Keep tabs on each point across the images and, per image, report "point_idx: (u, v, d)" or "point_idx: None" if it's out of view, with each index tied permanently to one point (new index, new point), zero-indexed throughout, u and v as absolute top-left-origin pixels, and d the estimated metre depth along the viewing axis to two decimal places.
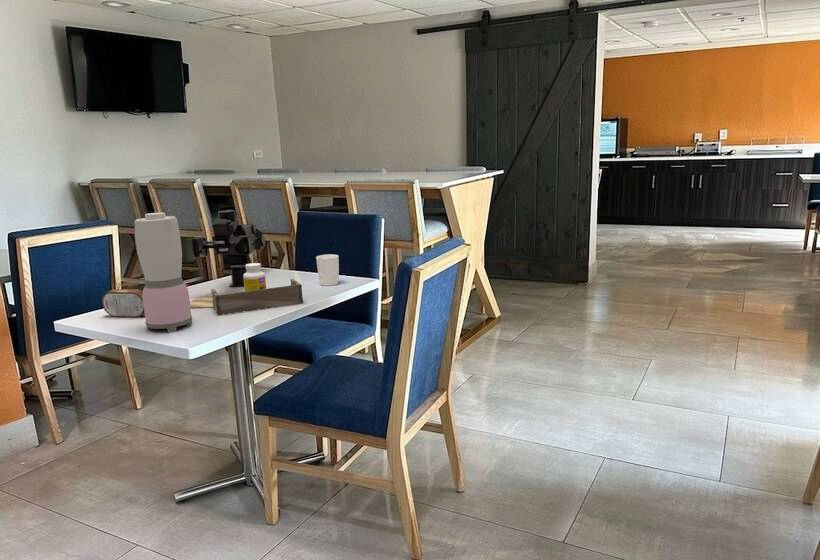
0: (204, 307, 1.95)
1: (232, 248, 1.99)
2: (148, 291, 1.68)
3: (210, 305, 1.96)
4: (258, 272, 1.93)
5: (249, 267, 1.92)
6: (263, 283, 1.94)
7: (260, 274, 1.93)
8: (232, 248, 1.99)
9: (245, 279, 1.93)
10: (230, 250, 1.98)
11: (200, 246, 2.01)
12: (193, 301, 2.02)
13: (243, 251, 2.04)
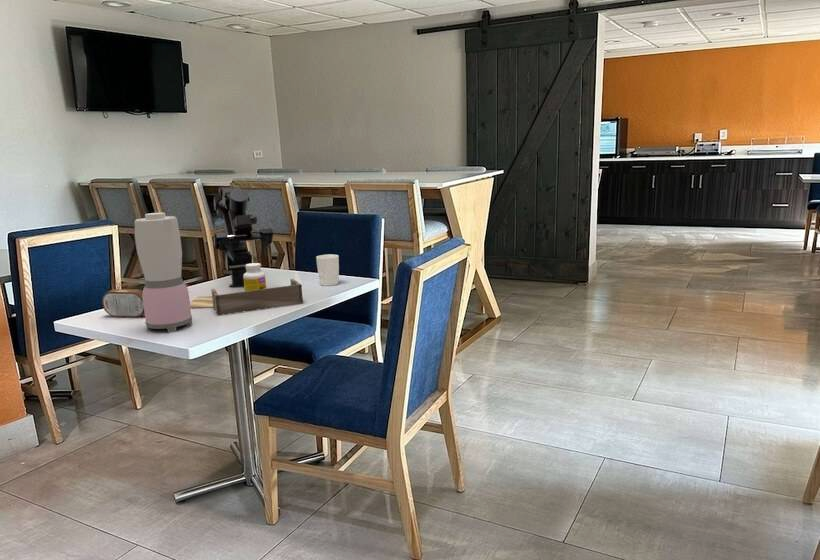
0: (204, 307, 1.95)
1: None
2: (148, 291, 1.68)
3: (210, 305, 1.96)
4: (258, 272, 1.93)
5: (249, 267, 1.92)
6: (263, 283, 1.94)
7: (260, 274, 1.93)
8: None
9: (245, 279, 1.93)
10: (263, 254, 2.03)
11: (229, 249, 1.99)
12: (193, 301, 2.02)
13: (267, 243, 2.08)
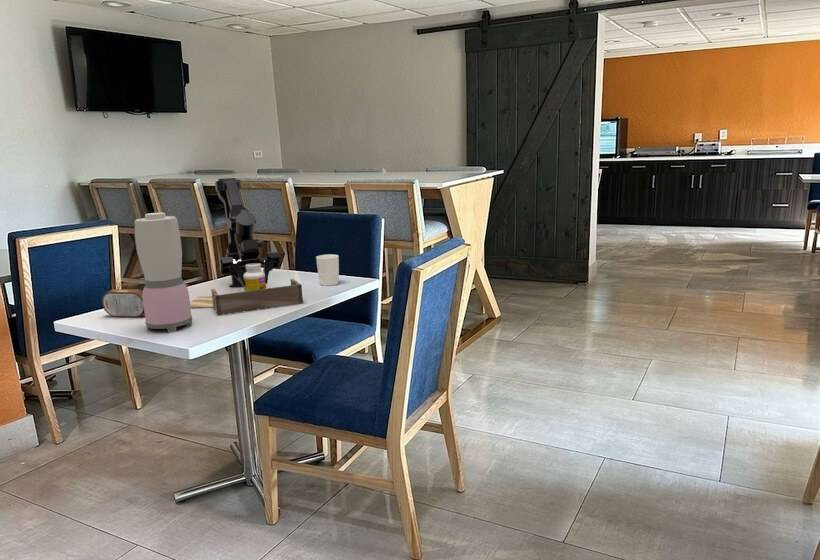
0: (204, 307, 1.95)
1: None
2: (148, 291, 1.68)
3: (210, 305, 1.96)
4: (258, 272, 1.93)
5: (249, 267, 1.92)
6: (263, 283, 1.94)
7: (260, 274, 1.93)
8: None
9: (245, 279, 1.93)
10: (267, 280, 1.96)
11: (240, 274, 1.93)
12: (193, 301, 2.02)
13: (271, 268, 2.01)
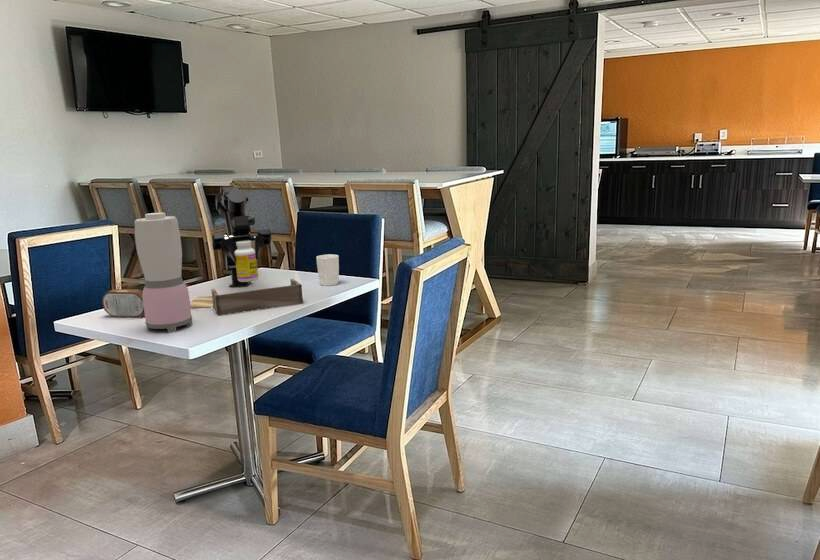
0: (204, 307, 1.95)
1: (258, 252, 2.03)
2: (148, 291, 1.68)
3: (210, 305, 1.96)
4: (248, 249, 2.00)
5: (239, 244, 1.99)
6: (253, 259, 2.00)
7: (250, 251, 1.99)
8: None
9: (236, 256, 1.99)
10: (257, 256, 2.02)
11: (231, 250, 2.00)
12: (193, 301, 2.02)
13: (262, 245, 2.07)
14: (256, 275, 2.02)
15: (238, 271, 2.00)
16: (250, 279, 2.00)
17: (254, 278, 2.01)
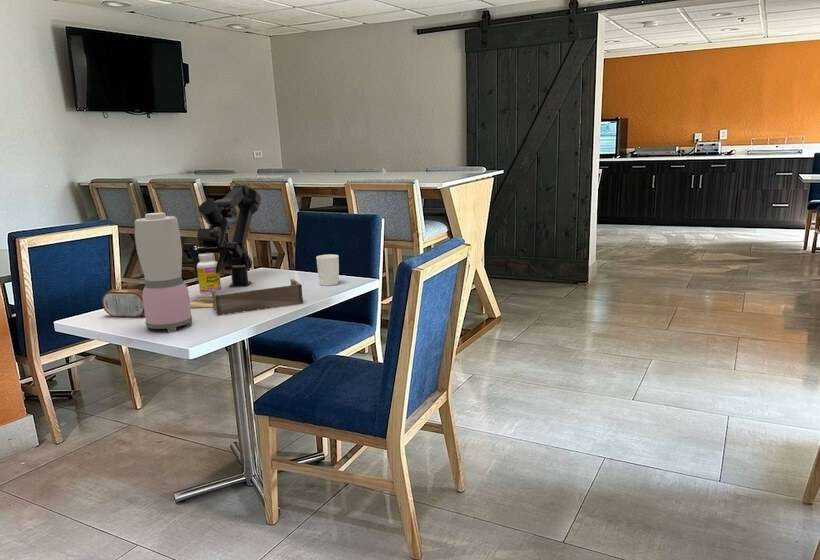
0: (204, 307, 1.95)
1: (220, 266, 1.98)
2: (148, 291, 1.68)
3: (210, 305, 1.96)
4: (207, 262, 1.97)
5: (199, 256, 1.97)
6: (211, 273, 1.97)
7: (208, 264, 1.96)
8: (219, 266, 1.98)
9: (197, 268, 1.98)
10: (218, 270, 1.98)
11: (195, 261, 2.00)
12: (193, 301, 2.02)
13: (231, 258, 2.02)
14: None
15: (199, 283, 1.99)
16: (207, 293, 1.98)
17: (211, 292, 1.98)
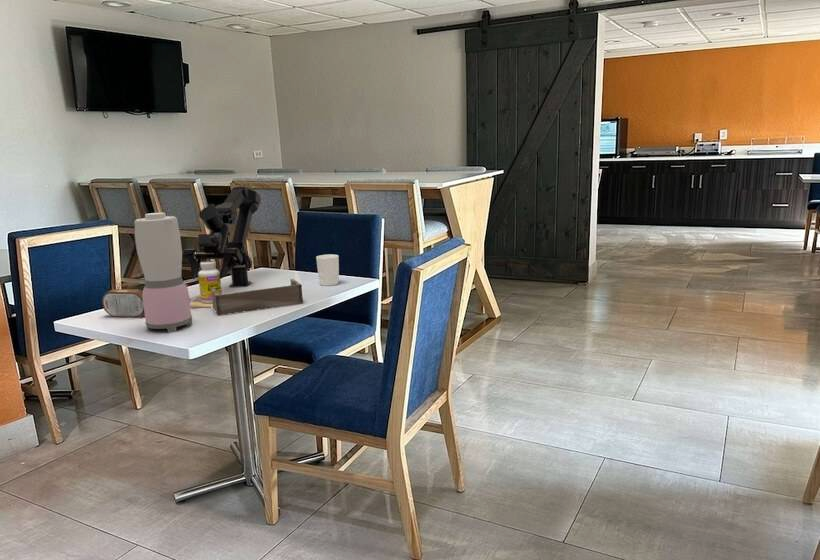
0: (204, 307, 1.95)
1: (223, 271, 1.98)
2: (148, 291, 1.68)
3: (210, 305, 1.96)
4: (209, 270, 1.97)
5: (201, 265, 1.97)
6: (212, 282, 1.97)
7: (209, 273, 1.97)
8: (223, 272, 1.98)
9: (198, 276, 1.99)
10: (222, 275, 1.98)
11: (192, 267, 2.00)
12: (193, 301, 2.02)
13: (235, 264, 2.02)
14: None
15: (200, 291, 2.00)
16: (208, 301, 1.98)
17: None
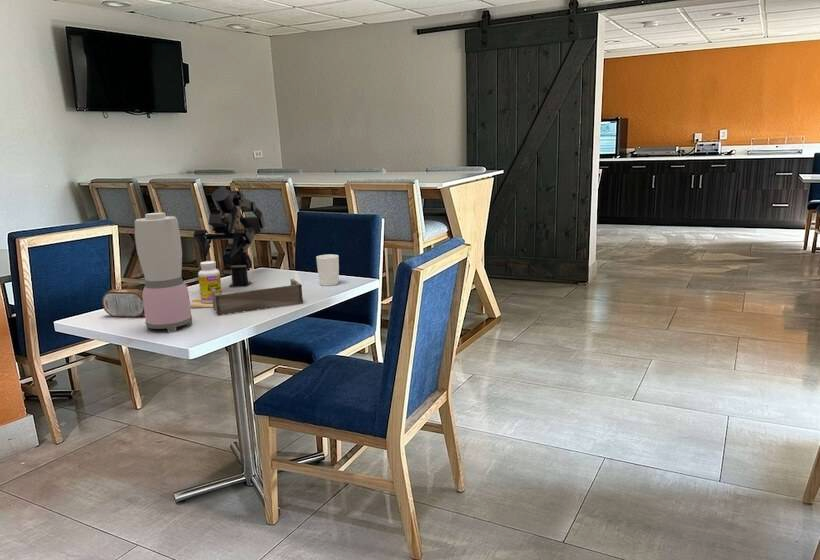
0: (204, 307, 1.95)
1: (233, 250, 2.06)
2: (148, 291, 1.68)
3: (210, 305, 1.96)
4: (209, 270, 1.97)
5: (201, 265, 1.97)
6: (212, 282, 1.97)
7: (209, 273, 1.97)
8: (233, 251, 2.06)
9: (198, 276, 1.99)
10: (232, 254, 2.06)
11: (203, 246, 2.08)
12: (193, 301, 2.02)
13: (244, 243, 2.10)
14: None
15: (200, 291, 2.00)
16: (208, 301, 1.98)
17: None
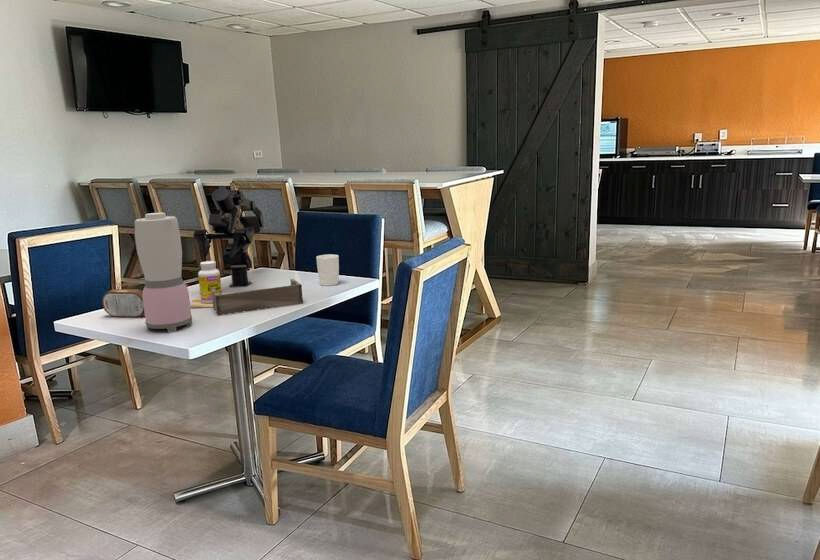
0: (204, 307, 1.95)
1: (233, 250, 2.06)
2: (148, 291, 1.68)
3: (210, 305, 1.96)
4: (209, 270, 1.97)
5: (201, 265, 1.97)
6: (212, 282, 1.97)
7: (209, 273, 1.97)
8: (233, 251, 2.06)
9: (198, 276, 1.99)
10: (232, 254, 2.06)
11: (203, 246, 2.08)
12: (193, 301, 2.02)
13: (244, 243, 2.10)
14: None
15: (200, 291, 2.00)
16: (208, 301, 1.98)
17: None
